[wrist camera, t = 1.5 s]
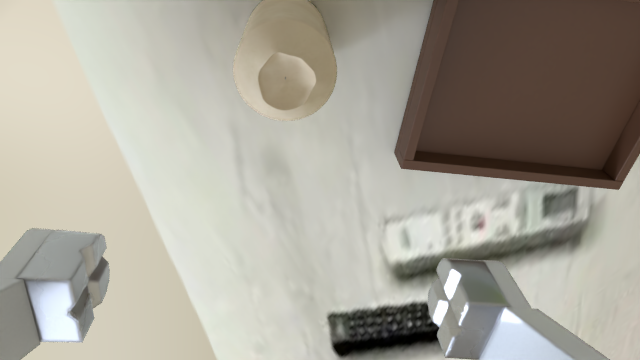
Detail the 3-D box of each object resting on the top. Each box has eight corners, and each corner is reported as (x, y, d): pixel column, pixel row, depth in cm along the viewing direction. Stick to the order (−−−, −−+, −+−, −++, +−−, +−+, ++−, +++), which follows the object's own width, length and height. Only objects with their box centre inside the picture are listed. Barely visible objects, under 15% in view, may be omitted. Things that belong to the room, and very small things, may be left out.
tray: (445, -45, 29) (458, -41, 26) (696, -4, 31) (728, 3, 29) (394, 152, 36) (400, 168, 34) (600, 173, 38) (619, 189, 36)
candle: (239, -2, 29) (218, 34, 21) (321, -13, 29) (334, 18, 21) (255, 77, 32) (242, 138, 24) (329, 67, 32) (344, 125, 24)
